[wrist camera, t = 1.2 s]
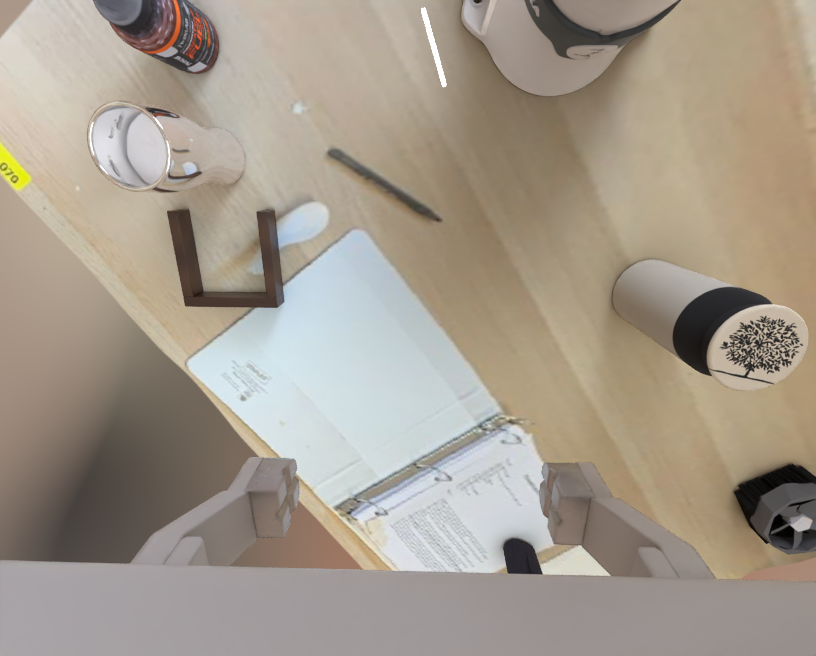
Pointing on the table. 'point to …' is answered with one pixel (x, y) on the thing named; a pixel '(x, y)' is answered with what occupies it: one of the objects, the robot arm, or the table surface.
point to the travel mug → (712, 324)
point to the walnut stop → (198, 298)
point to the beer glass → (160, 149)
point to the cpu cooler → (782, 508)
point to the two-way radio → (521, 558)
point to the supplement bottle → (164, 31)
